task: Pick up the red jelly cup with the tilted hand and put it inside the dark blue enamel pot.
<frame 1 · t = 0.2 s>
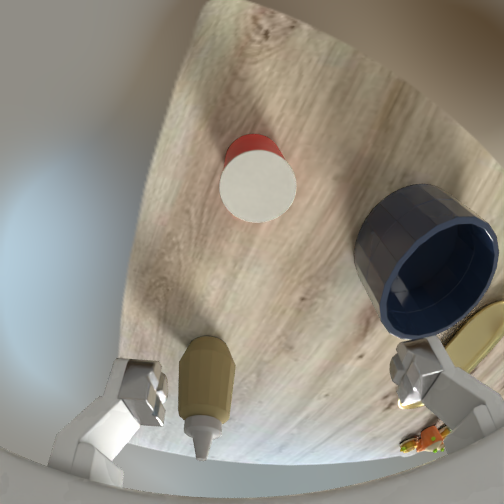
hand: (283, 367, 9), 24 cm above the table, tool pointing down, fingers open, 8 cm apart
pot: (411, 244, 35), on the table
serving platter: (455, 357, 51), on the table
squeeze bottle: (208, 347, 44), on the table
jelly: (253, 160, 29), on the table
toy tea set: (428, 434, 78), on the table
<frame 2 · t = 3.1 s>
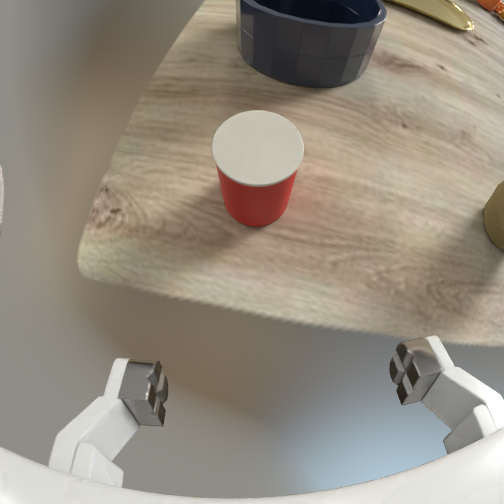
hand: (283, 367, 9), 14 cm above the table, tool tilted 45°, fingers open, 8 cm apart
pot: (303, 45, 31), on the table
squeeze bottle: (497, 225, 26), on the table
jelly: (255, 196, 26), on the table
toy tea set: (488, 5, 44), on the table
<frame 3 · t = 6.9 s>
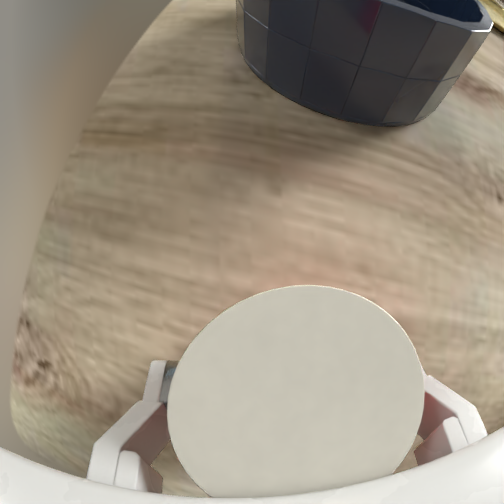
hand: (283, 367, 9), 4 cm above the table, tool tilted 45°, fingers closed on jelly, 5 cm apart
pot: (346, 47, 19), on the table
jelly: (275, 367, 14), on the table, touching gripper
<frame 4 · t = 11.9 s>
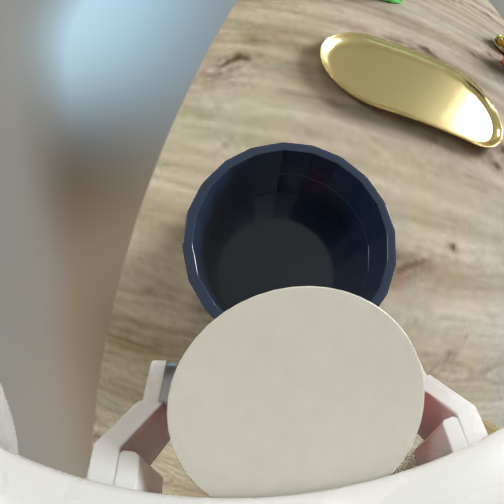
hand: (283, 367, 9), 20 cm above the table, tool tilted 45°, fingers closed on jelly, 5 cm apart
pot: (282, 261, 31), on the table
serving platter: (420, 89, 38), on the table
jelly: (275, 367, 13), point 16 cm above the table, touching gripper
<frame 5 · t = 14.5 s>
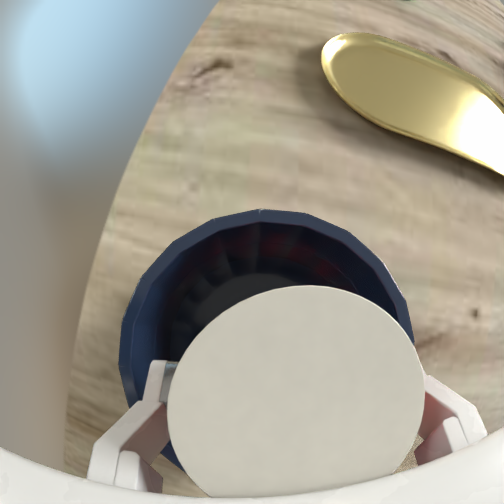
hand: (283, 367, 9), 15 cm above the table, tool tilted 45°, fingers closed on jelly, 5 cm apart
pot: (263, 349, 24), on the table
serving platter: (442, 105, 30), on the table
jelly: (275, 367, 13), point 10 cm above the table, touching gripper
when the fingers open (8 cm above the table, at t = 16.8 s): jelly drops 3 cm, resting on pot.
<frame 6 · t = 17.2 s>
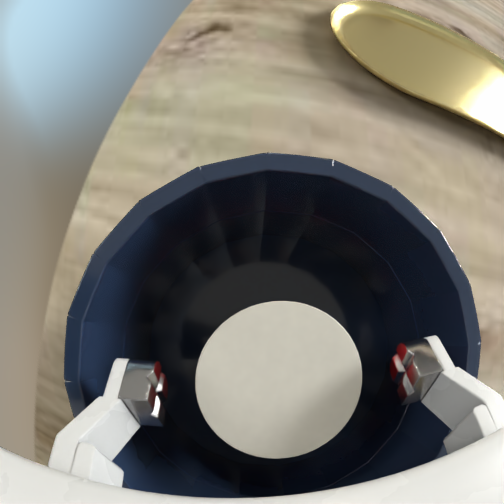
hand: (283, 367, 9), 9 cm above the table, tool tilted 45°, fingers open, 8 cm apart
pot: (270, 355, 18), on the table
serving platter: (463, 77, 25), on the table
jelly: (268, 357, 17), point 1 cm above the table, touching pot
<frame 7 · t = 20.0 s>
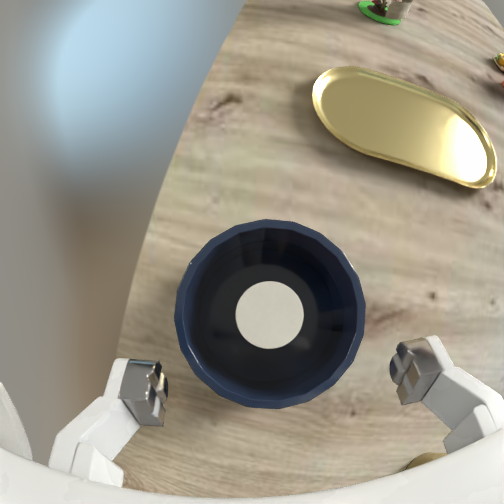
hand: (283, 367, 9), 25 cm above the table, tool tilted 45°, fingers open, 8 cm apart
pot: (267, 316, 34), on the table
mushroom terrarium jar: (379, 14, 49), on the table
serving platter: (413, 127, 40), on the table
squeeze bottle: (420, 469, 28), on the table
jelly: (265, 316, 33), resting on pot
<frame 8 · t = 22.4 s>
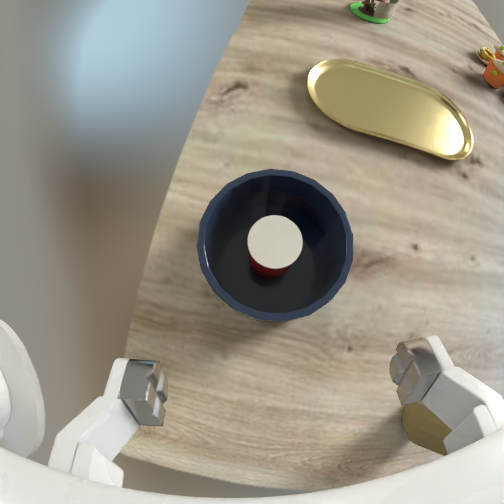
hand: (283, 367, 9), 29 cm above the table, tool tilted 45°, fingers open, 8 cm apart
pot: (271, 258, 40), on the table
mushroom terrarium jar: (368, 14, 56), on the table
serving platter: (396, 109, 47), on the table
squeeze bottle: (416, 413, 35), on the table
jelly: (270, 258, 40), resting on pot
toy tea set: (495, 74, 53), on the table
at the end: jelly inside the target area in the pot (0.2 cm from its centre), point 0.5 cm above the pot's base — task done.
